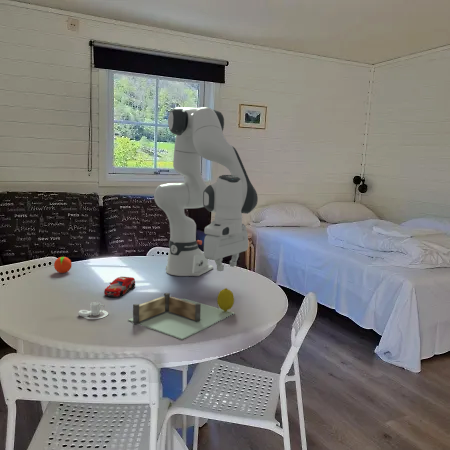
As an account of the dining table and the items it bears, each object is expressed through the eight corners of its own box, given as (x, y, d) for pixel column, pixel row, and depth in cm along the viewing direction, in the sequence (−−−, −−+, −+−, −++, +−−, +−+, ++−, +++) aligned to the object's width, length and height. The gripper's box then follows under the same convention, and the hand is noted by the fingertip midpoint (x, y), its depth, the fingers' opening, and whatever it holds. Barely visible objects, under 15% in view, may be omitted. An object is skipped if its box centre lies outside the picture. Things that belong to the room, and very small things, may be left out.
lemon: (236, 313, 142) (236, 290, 141) (220, 315, 140) (220, 291, 139) (230, 307, 147) (231, 285, 146) (214, 309, 145) (215, 286, 144)
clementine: (70, 275, 180) (70, 258, 179) (52, 276, 178) (52, 259, 177) (72, 270, 187) (72, 254, 186) (55, 270, 186) (55, 254, 185)
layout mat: (183, 299, 155) (183, 298, 155) (234, 314, 143) (234, 312, 143) (127, 321, 134) (127, 319, 134) (181, 340, 121) (181, 338, 121)
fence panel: (168, 311, 141) (168, 296, 140) (171, 310, 142) (172, 294, 141) (197, 321, 133) (198, 305, 132) (201, 320, 134) (201, 304, 133)
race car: (117, 299, 154) (117, 286, 153) (100, 297, 155) (100, 284, 154) (138, 286, 169) (138, 274, 168) (122, 284, 171) (122, 272, 170)
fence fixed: (166, 309, 144) (166, 292, 143) (170, 310, 143) (170, 293, 142) (131, 323, 131) (131, 304, 130) (136, 324, 130) (135, 306, 129)
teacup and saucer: (75, 319, 135) (74, 306, 135) (87, 310, 143) (87, 298, 142) (101, 321, 134) (101, 309, 133) (112, 312, 142) (112, 300, 141)
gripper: (238, 221, 149) (236, 261, 151) (200, 229, 133) (199, 272, 135) (253, 224, 145) (251, 264, 148) (217, 231, 129) (216, 276, 131)
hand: (226, 268), depth 141 cm, fingers open, 6 cm apart
